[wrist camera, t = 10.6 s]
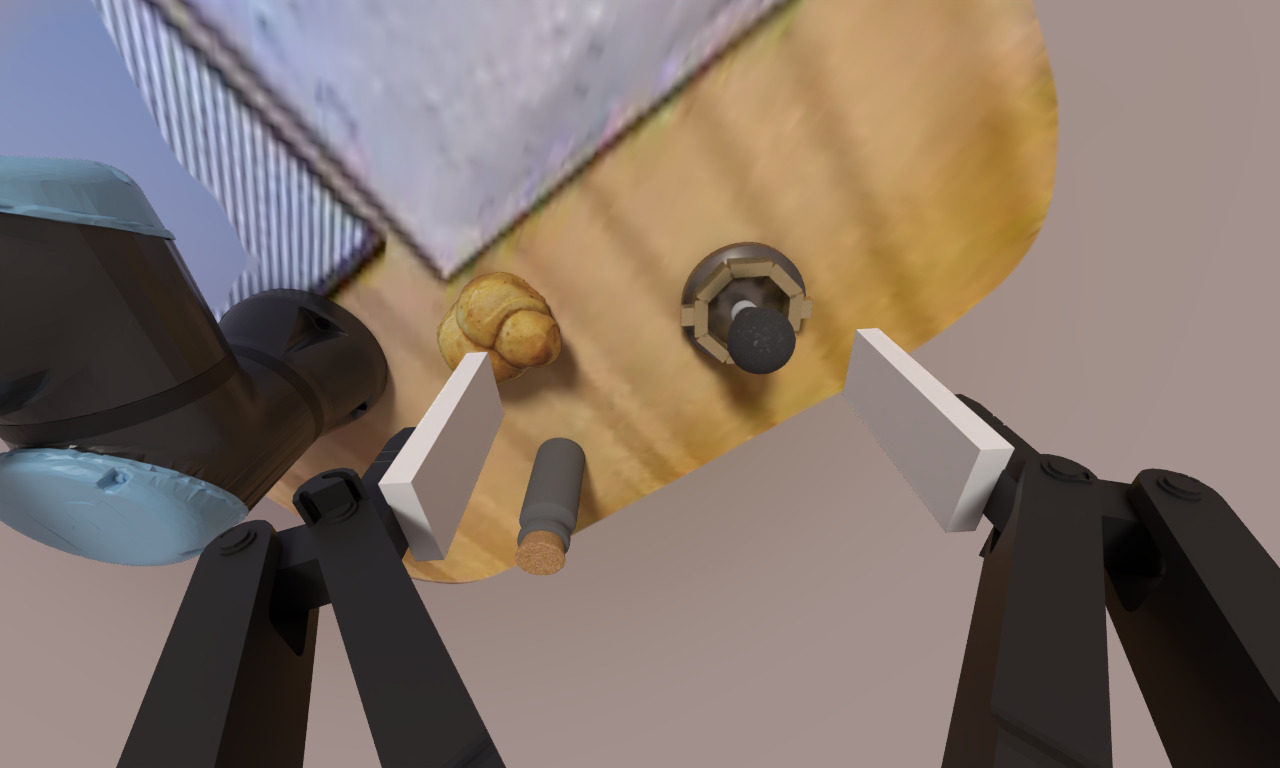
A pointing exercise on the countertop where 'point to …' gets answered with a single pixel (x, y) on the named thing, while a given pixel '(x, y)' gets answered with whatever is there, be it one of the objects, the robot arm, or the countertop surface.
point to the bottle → (550, 507)
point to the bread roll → (500, 326)
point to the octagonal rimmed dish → (739, 293)
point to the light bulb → (759, 338)
